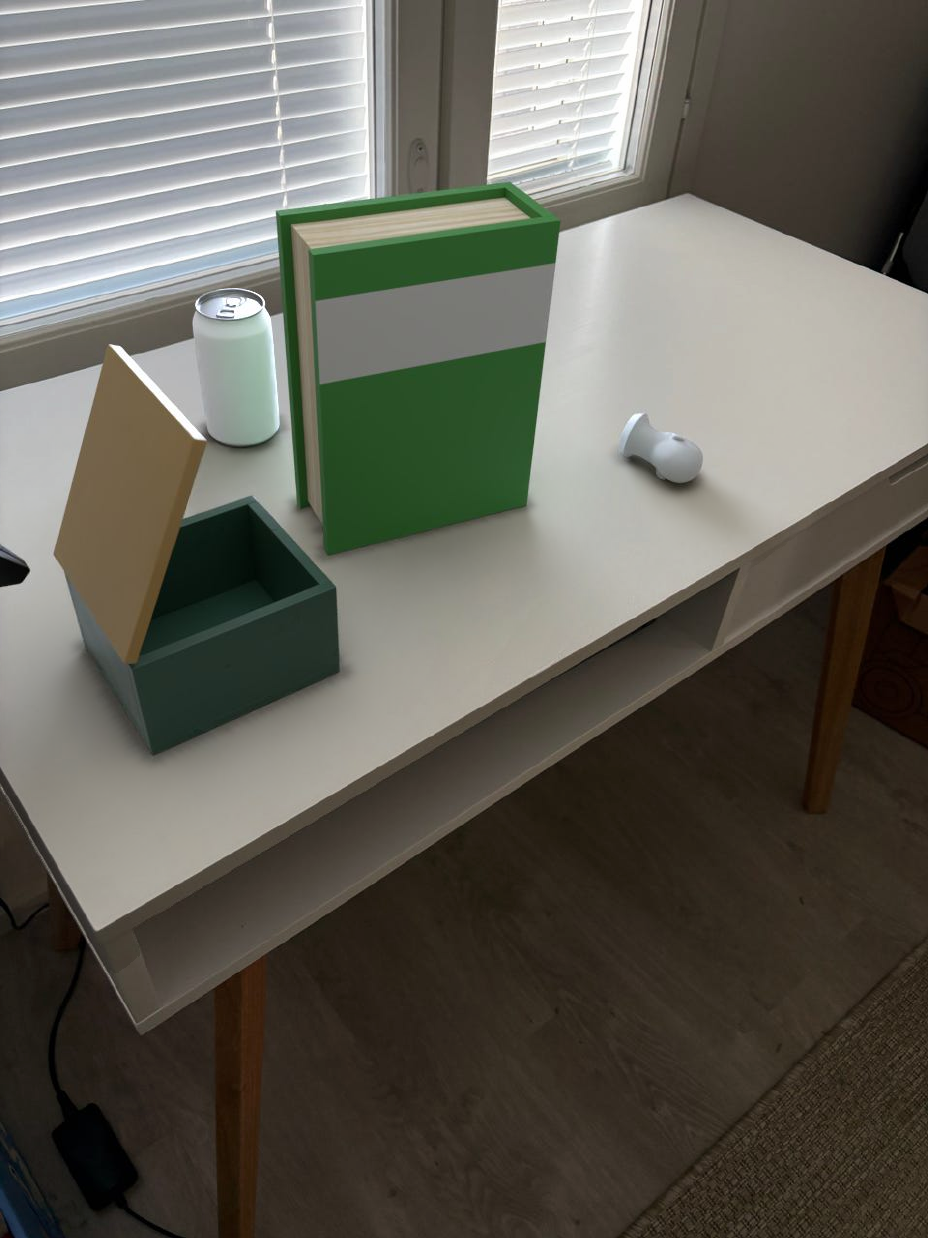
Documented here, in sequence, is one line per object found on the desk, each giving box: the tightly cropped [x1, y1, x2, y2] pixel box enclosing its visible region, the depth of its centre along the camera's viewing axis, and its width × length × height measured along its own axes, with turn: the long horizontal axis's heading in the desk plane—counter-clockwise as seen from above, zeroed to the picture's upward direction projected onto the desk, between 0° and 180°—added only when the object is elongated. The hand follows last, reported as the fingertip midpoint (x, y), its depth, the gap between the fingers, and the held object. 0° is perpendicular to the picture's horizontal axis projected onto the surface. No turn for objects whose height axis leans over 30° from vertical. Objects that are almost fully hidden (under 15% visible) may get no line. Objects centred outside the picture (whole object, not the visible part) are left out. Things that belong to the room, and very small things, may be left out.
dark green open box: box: [63, 495, 341, 756], centre depth 67 cm, size 14×12×8 cm
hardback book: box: [275, 181, 561, 556], centre depth 76 cm, size 18×7×24 cm, turn 116°
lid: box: [52, 343, 208, 664], centre depth 58 cm, size 14×12×1 cm
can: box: [192, 288, 280, 448], centre depth 87 cm, size 6×6×12 cm
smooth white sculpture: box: [618, 412, 704, 484], centre depth 89 cm, size 4×8×5 cm
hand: (24, 573), depth 57 cm, fingers closed
